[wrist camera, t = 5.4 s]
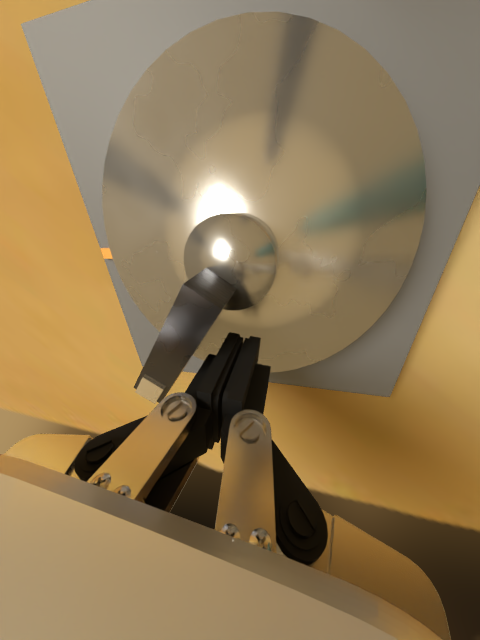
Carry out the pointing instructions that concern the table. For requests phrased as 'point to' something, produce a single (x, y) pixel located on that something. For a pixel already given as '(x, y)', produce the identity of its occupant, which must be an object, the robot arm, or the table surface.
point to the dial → (262, 193)
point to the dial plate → (359, 25)
